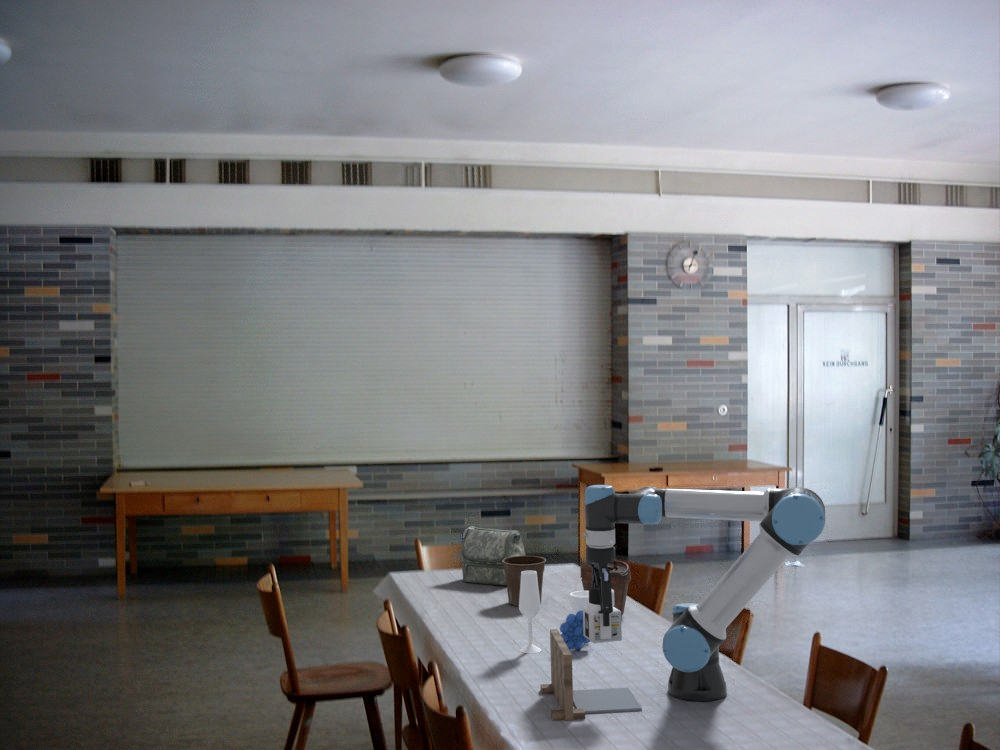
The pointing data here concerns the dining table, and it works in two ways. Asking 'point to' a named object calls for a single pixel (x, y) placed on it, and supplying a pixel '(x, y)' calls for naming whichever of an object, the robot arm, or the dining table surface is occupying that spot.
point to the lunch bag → (488, 554)
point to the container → (593, 619)
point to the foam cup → (579, 600)
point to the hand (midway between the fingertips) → (602, 633)
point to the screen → (561, 679)
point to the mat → (605, 700)
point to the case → (618, 581)
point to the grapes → (574, 631)
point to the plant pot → (513, 574)
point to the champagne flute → (529, 604)
